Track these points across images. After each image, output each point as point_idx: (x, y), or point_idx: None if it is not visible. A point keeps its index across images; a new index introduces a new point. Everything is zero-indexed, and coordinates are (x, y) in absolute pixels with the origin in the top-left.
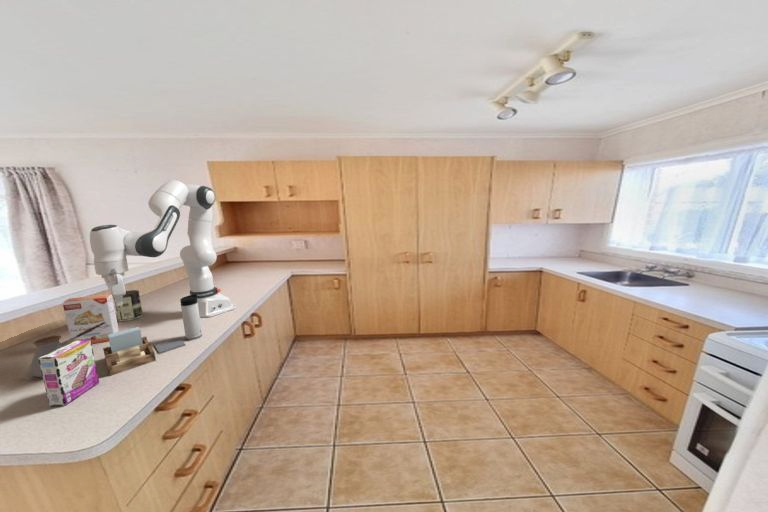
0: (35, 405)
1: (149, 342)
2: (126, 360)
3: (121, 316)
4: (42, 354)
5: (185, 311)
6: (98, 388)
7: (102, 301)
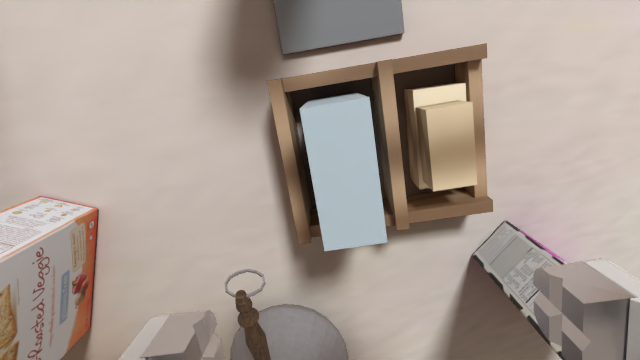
0: (510, 340)
1: (378, 62)
2: None
3: None
4: None
5: None
6: (545, 217)
7: None
